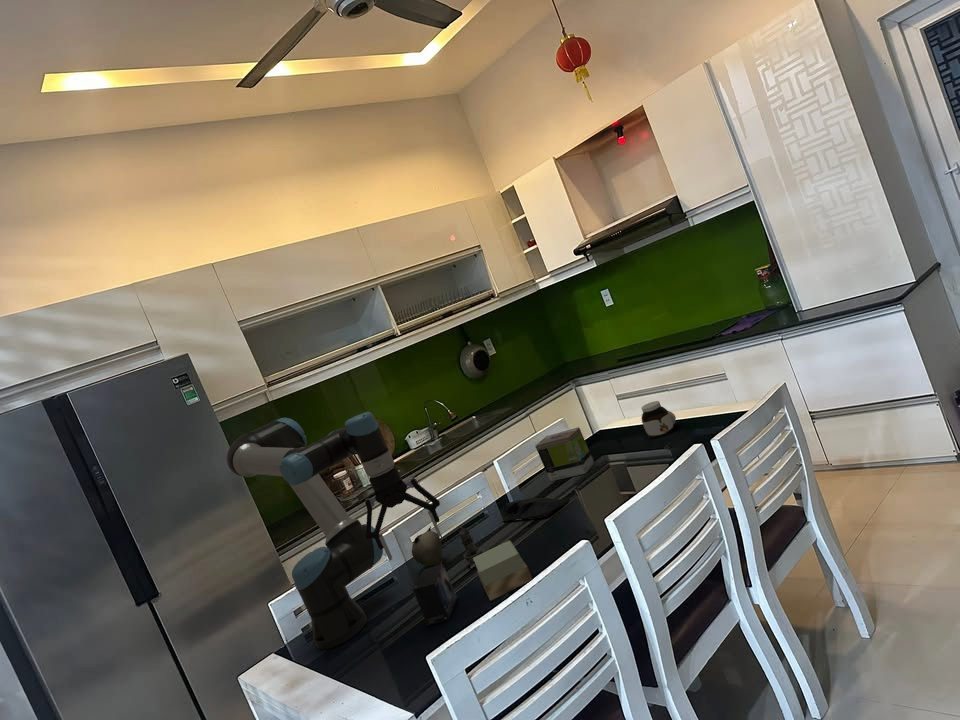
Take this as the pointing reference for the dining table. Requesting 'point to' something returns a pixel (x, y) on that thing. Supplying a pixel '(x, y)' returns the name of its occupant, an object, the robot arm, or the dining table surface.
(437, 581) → the small box
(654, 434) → the spread jar
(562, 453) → the tea box
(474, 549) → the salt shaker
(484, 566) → the tower top
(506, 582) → the tower bottom
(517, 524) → the dining table surface
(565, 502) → the dark slate chunk
